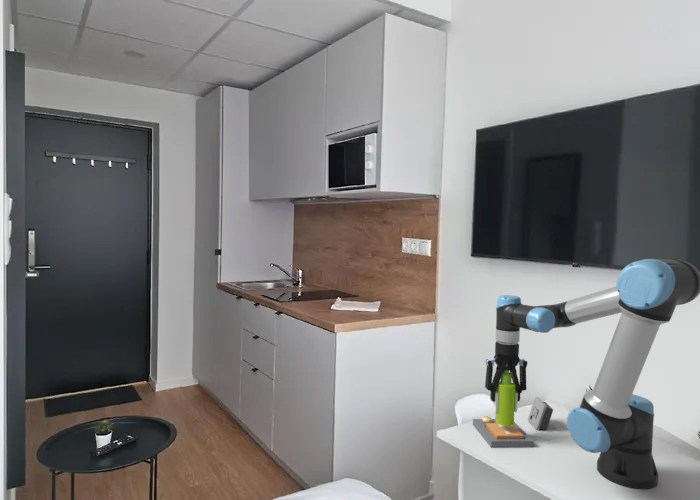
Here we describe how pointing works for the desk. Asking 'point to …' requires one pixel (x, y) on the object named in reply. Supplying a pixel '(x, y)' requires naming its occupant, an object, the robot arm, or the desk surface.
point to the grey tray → (495, 443)
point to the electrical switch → (540, 414)
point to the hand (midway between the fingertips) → (504, 410)
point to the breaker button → (504, 431)
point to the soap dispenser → (505, 400)
